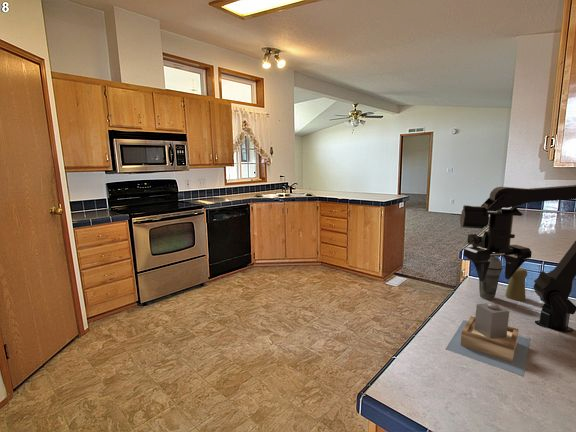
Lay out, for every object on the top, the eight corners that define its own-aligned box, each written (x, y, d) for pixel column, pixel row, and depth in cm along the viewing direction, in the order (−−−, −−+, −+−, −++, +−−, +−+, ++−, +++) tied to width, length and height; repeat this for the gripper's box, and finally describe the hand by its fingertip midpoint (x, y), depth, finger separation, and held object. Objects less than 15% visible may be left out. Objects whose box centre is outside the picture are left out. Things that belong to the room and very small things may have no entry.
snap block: (490, 327, 84) (493, 299, 83) (506, 337, 79) (509, 308, 78) (474, 329, 83) (476, 301, 82) (489, 339, 78) (492, 309, 77)
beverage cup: (499, 303, 108) (505, 246, 105) (474, 298, 111) (480, 244, 108) (498, 295, 114) (504, 242, 111) (475, 291, 118) (480, 239, 114)
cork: (529, 301, 109) (533, 271, 107) (509, 300, 110) (513, 270, 109) (520, 294, 115) (523, 265, 113) (502, 293, 116) (505, 264, 114)
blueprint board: (463, 322, 94) (463, 320, 94) (529, 341, 84) (530, 338, 84) (444, 351, 79) (445, 348, 79) (523, 379, 69) (523, 376, 69)
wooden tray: (469, 328, 89) (470, 316, 89) (517, 342, 82) (518, 329, 82) (460, 345, 81) (461, 331, 80) (512, 362, 74) (514, 347, 73)
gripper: (503, 223, 102) (498, 269, 104) (452, 225, 98) (448, 273, 101) (535, 230, 91) (529, 281, 94) (480, 233, 88) (475, 286, 90)
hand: (494, 280), depth 95 cm, fingers open, 9 cm apart
